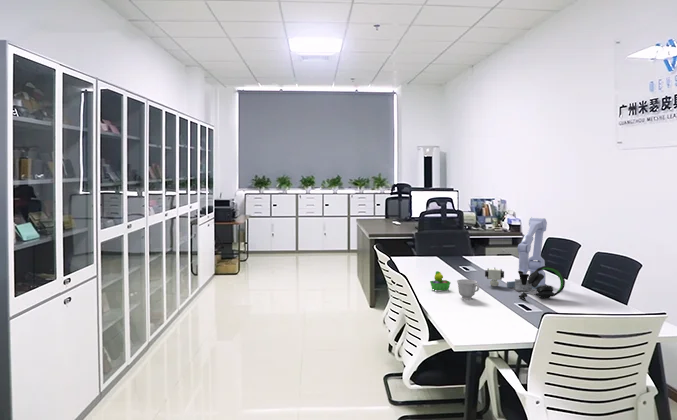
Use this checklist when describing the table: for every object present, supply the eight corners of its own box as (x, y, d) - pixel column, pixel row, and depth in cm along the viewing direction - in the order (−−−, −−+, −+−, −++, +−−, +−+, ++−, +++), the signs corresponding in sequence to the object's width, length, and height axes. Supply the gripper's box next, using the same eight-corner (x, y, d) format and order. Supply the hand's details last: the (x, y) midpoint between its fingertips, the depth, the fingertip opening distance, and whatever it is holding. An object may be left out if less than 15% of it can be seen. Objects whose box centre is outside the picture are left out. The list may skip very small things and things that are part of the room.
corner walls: (524, 285, 318) (524, 280, 318) (540, 290, 304) (541, 285, 304) (506, 287, 314) (506, 281, 314) (522, 292, 300) (522, 286, 299)
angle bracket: (531, 289, 307) (531, 279, 306) (532, 291, 301) (533, 281, 301) (514, 288, 309) (514, 279, 309) (515, 290, 303) (515, 281, 303)
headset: (526, 312, 286) (568, 288, 288) (532, 308, 274) (575, 283, 276) (508, 286, 293) (549, 263, 295) (513, 281, 281) (555, 257, 282)
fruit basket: (434, 291, 303) (434, 273, 302) (428, 288, 312) (428, 271, 311) (451, 290, 305) (451, 272, 304) (445, 287, 314) (445, 270, 313)
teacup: (471, 302, 276) (471, 285, 275) (452, 297, 288) (452, 280, 288) (485, 299, 282) (485, 283, 281) (466, 294, 295) (466, 278, 294)
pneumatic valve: (503, 287, 314) (504, 268, 313) (484, 285, 317) (485, 267, 316) (503, 285, 319) (504, 267, 318) (485, 284, 323) (485, 266, 322)
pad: (523, 286, 315) (523, 286, 315) (536, 290, 303) (536, 290, 303) (509, 287, 311) (509, 287, 311) (522, 292, 300) (522, 291, 300)
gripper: (532, 264, 298) (531, 286, 299) (528, 260, 312) (528, 281, 313) (519, 264, 300) (519, 285, 301) (517, 260, 314) (516, 280, 315)
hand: (523, 283), depth 307 cm, fingers open, 7 cm apart
